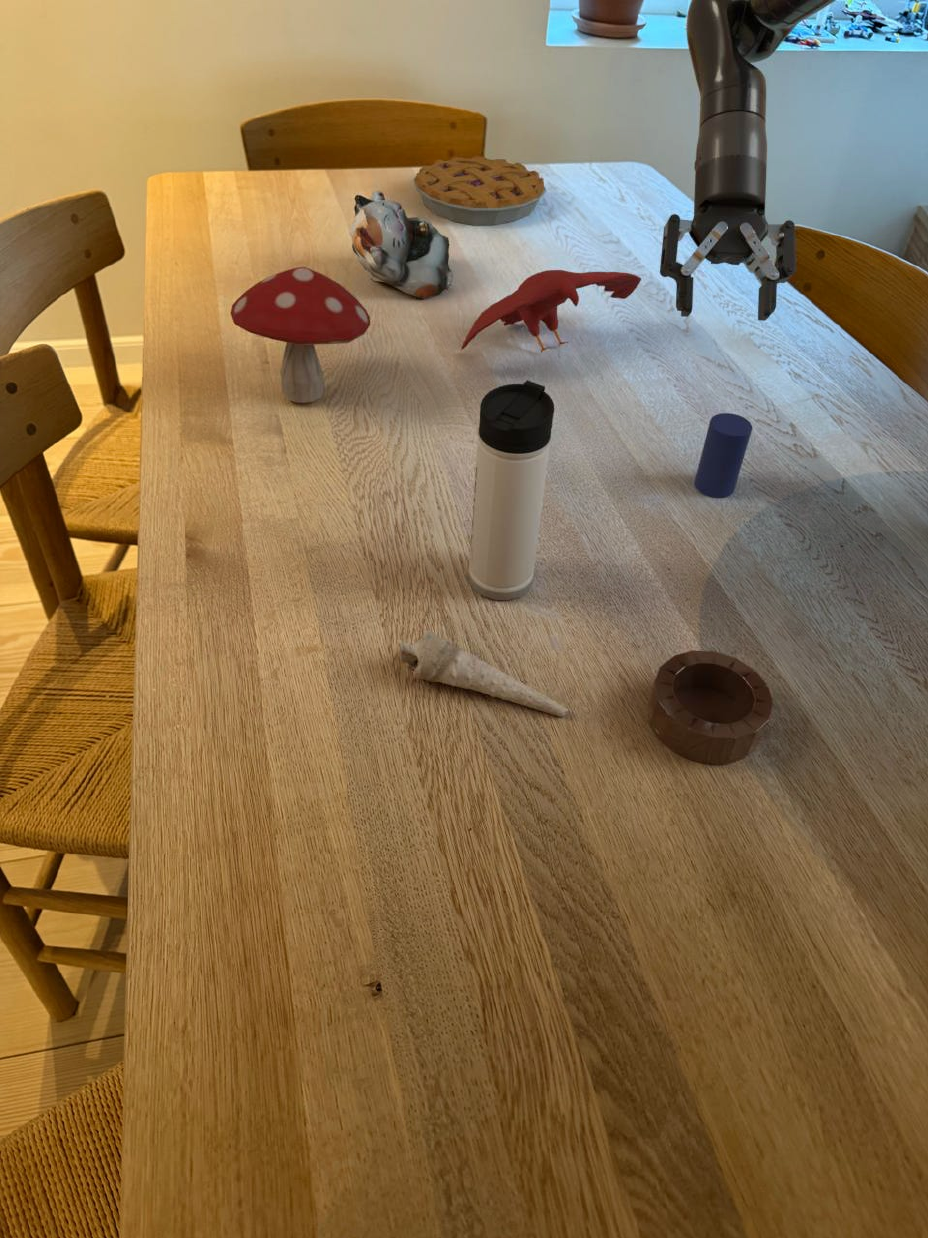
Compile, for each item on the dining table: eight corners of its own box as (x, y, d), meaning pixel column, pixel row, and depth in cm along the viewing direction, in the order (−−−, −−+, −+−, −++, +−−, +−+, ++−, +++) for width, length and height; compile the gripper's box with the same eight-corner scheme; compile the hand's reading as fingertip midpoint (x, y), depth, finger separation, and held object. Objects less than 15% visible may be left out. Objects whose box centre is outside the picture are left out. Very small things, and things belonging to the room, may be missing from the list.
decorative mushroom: (224, 373, 118) (207, 254, 108) (343, 349, 124) (338, 234, 114) (266, 439, 108) (252, 315, 98) (394, 410, 114) (393, 289, 104)
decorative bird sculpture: (445, 395, 125) (498, 351, 112) (417, 329, 125) (467, 277, 111) (605, 341, 138) (670, 295, 125) (579, 281, 137) (642, 229, 124)
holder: (748, 680, 85) (758, 652, 82) (772, 767, 78) (784, 740, 76) (641, 676, 85) (648, 648, 82) (655, 762, 78) (664, 735, 75)
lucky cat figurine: (452, 304, 134) (411, 225, 123) (376, 326, 139) (329, 252, 127) (457, 232, 142) (418, 152, 131) (384, 255, 146) (341, 179, 135)
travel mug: (545, 572, 94) (570, 392, 80) (513, 610, 90) (533, 428, 76) (489, 549, 96) (505, 370, 82) (456, 585, 92) (466, 404, 78)
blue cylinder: (729, 475, 108) (747, 413, 102) (737, 498, 104) (756, 436, 99) (691, 473, 107) (706, 411, 102) (697, 497, 104) (714, 434, 99)
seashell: (402, 651, 86) (408, 611, 83) (570, 705, 83) (581, 665, 81) (385, 677, 82) (391, 636, 80) (560, 734, 80) (572, 694, 77)
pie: (485, 171, 173) (487, 141, 170) (569, 210, 162) (573, 180, 158) (388, 195, 163) (388, 165, 159) (470, 239, 151) (472, 207, 148)
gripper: (674, 148, 100) (669, 301, 100) (808, 155, 101) (803, 307, 101) (658, 182, 108) (653, 324, 108) (782, 188, 108) (778, 330, 108)
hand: (725, 316), depth 104 cm, fingers open, 8 cm apart
